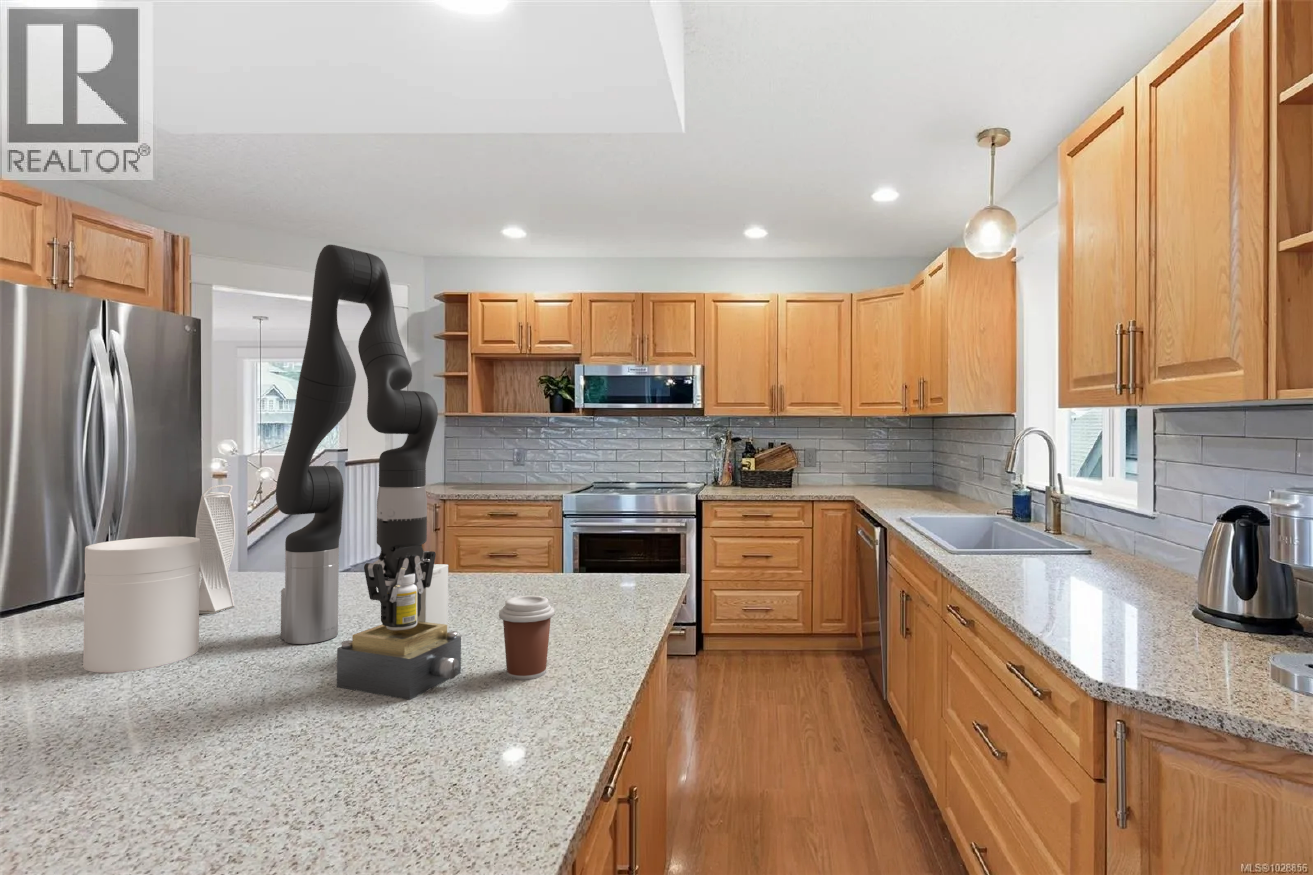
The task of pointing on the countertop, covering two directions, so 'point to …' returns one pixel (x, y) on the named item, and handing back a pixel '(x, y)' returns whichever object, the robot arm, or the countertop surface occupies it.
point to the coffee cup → (526, 635)
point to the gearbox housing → (399, 660)
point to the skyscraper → (215, 550)
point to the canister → (140, 603)
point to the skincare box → (435, 597)
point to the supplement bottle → (406, 604)
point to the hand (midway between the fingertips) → (401, 620)
